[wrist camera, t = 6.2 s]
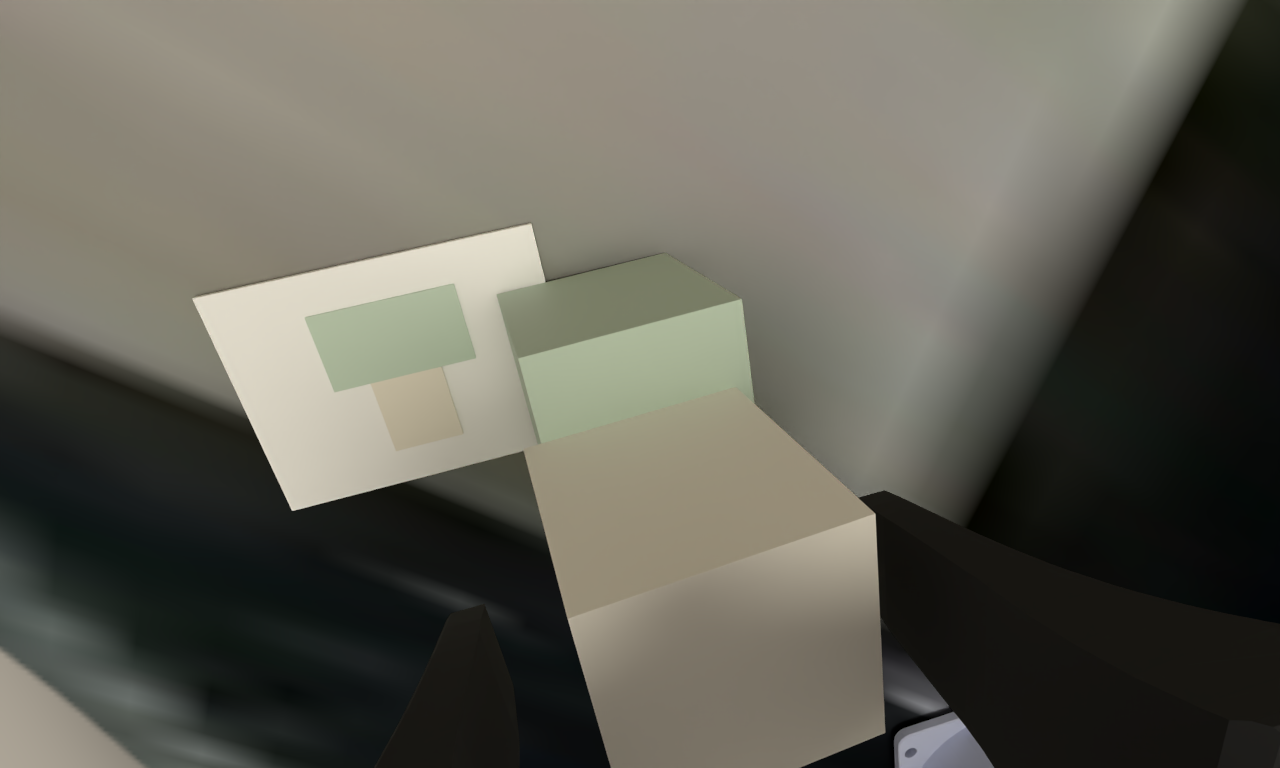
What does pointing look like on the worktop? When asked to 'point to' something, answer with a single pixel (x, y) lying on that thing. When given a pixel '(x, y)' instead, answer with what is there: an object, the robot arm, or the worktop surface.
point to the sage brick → (623, 343)
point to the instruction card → (380, 364)
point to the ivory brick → (714, 588)
